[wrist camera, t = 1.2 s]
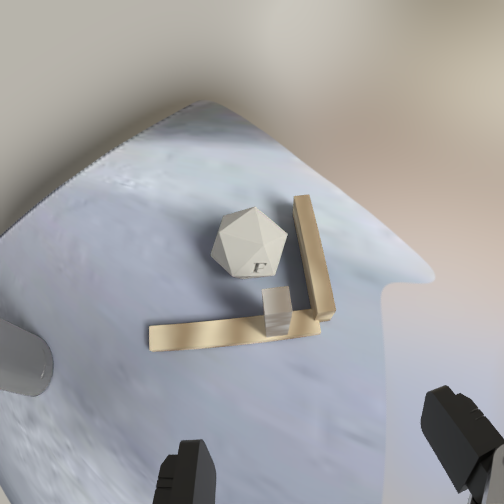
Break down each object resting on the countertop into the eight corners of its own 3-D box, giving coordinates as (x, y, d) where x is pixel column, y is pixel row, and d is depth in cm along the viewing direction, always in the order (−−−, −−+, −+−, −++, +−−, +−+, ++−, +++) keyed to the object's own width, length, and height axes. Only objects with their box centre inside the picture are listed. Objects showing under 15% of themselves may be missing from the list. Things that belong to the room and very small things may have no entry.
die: (205, 277, 41) (225, 287, 32) (206, 210, 41) (226, 202, 32) (264, 276, 44) (297, 284, 35) (265, 213, 44) (298, 206, 35)
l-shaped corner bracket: (152, 351, 36) (116, 331, 27) (154, 231, 44) (129, 187, 35) (332, 332, 36) (351, 305, 27) (306, 212, 44) (313, 162, 35)
